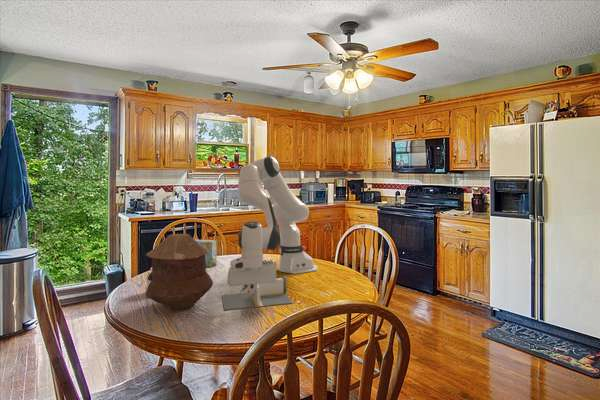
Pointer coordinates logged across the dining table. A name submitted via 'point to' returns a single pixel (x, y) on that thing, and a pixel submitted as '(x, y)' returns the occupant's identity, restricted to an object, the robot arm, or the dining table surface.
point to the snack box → (209, 251)
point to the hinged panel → (257, 295)
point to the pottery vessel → (178, 273)
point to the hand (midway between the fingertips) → (252, 294)
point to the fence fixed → (273, 286)
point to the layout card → (253, 300)
